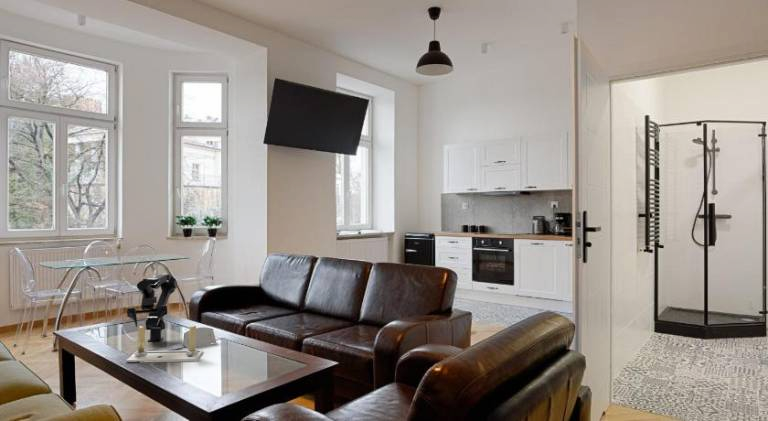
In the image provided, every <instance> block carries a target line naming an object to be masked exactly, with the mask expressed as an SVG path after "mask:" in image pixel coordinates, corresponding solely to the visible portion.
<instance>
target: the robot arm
mask: <svg viewBox="0 0 768 421" xmlns="http://www.w3.org/2000/svg"><path fill="white" fill-rule="evenodd" d="M177 287H178V282H177V279H176V278H174V276H172V275H171V273H163V272H162V273H160V274H159V275H158V276H155V277H146V278H142V280H141V281H139V282H138V283H137V285H136V288H137V290H138V291H139V293H140V294H141V295H142V298H141V303H140V305H141V306H140V309H137V307H136V306H135V307H132V306H131V307H128V308H126V316H127V318H130V319H132V320H133V322H134V325H135V328H138V320H137V319H138V317H137V315H138V314H148V315H147V317H146V319H145V331H149V339H148V340H147V342H149V343H150V342H162V340H163V339H164V337H162V331H163V330H166V326H167V325H166V321H165V320H164V317H165V316H166V315H168V305H167V304H168V302H169V299H170V296H171V295H172V294H174V293H175V291H176V289H177ZM159 288H160V289H161V292H160V295H159V298H157V296H155V295H156V294H155V293H156V290H158V289H159ZM155 305H156V306H155Z"/></svg>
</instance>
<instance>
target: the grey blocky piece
mask: <svg viewBox="0 0 768 421" xmlns="http://www.w3.org/2000/svg"><path fill="white" fill-rule="evenodd" d="M189 331H190V329H188V330H187V331H185V332H184V333H183V343H182V346H183V347H185V349H189ZM215 336H216V335H215V332H214V328H211V327H207V326H206V327H203V326H202V327H196V344H195V348H196V347H202V345H203V346H208V345H207V344H210V345H212V344H211V343H216V344H217V339H216V337H215Z"/></svg>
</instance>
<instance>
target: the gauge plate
mask: <svg viewBox="0 0 768 421" xmlns="http://www.w3.org/2000/svg"><path fill="white" fill-rule="evenodd" d="M196 328H197V325H190V326H189V330H190V331H189V330H188V331H189V348H187V349H186V350H185V349H184V350H182V349H180V350H147V353H146V354H145V355H144V356H139V357H137V356H134V354H135V352H134V353H132V355H130V356H129V357H128V358H127V359H126V360H127V361H128V360H129V361H130V360H131V361H132V360H133V361H144V362H143V363H172V362H173V363H175V362H176V363H177V362H178V363H180V362H181V363H182V362H197V361H198V360H199V359H200V357H201V356H202V354H203V353H204V350H203V349H199V348H196V347H195V344H196Z"/></svg>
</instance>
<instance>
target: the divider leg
mask: <svg viewBox="0 0 768 421" xmlns="http://www.w3.org/2000/svg"><path fill="white" fill-rule="evenodd" d="M145 339H146V325H145V326H143V325H142V326H137V350H136V351H134V353H135V354H134V353H133V354H134V356H137V357H139V356H144V355H145V354H146V353H147V351H148V349H145V346H146V345H145V342H146V340H145Z"/></svg>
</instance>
